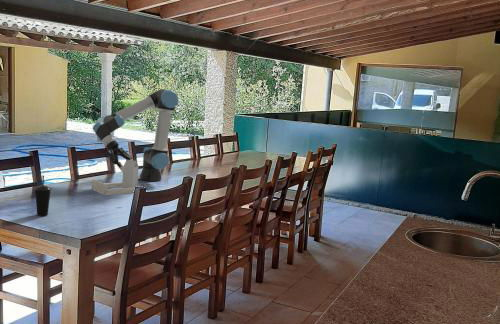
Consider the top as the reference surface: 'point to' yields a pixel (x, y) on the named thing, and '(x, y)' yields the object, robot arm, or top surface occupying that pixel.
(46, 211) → the drinking cup
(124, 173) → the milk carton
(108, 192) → the bay
